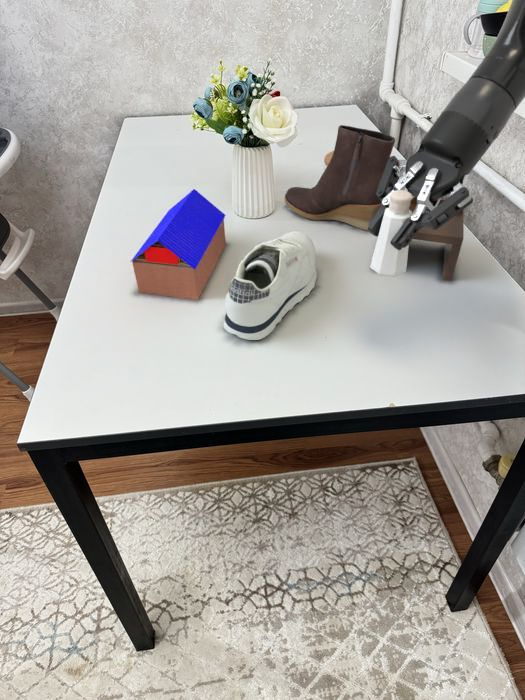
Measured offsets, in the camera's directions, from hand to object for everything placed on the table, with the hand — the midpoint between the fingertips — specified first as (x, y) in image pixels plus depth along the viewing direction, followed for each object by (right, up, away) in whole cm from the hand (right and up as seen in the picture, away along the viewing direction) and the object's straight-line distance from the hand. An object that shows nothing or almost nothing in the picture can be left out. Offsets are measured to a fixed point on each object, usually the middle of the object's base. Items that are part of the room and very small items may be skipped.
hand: (383, 239), depth 66 cm
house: (-32, +1, +30) cm, 44 cm away
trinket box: (+4, +25, +55) cm, 60 cm away
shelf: (+14, +3, +31) cm, 34 cm away
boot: (0, +15, +44) cm, 47 cm away
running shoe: (-14, -5, +23) cm, 27 cm away
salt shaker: (+2, -3, +4) cm, 6 cm away
